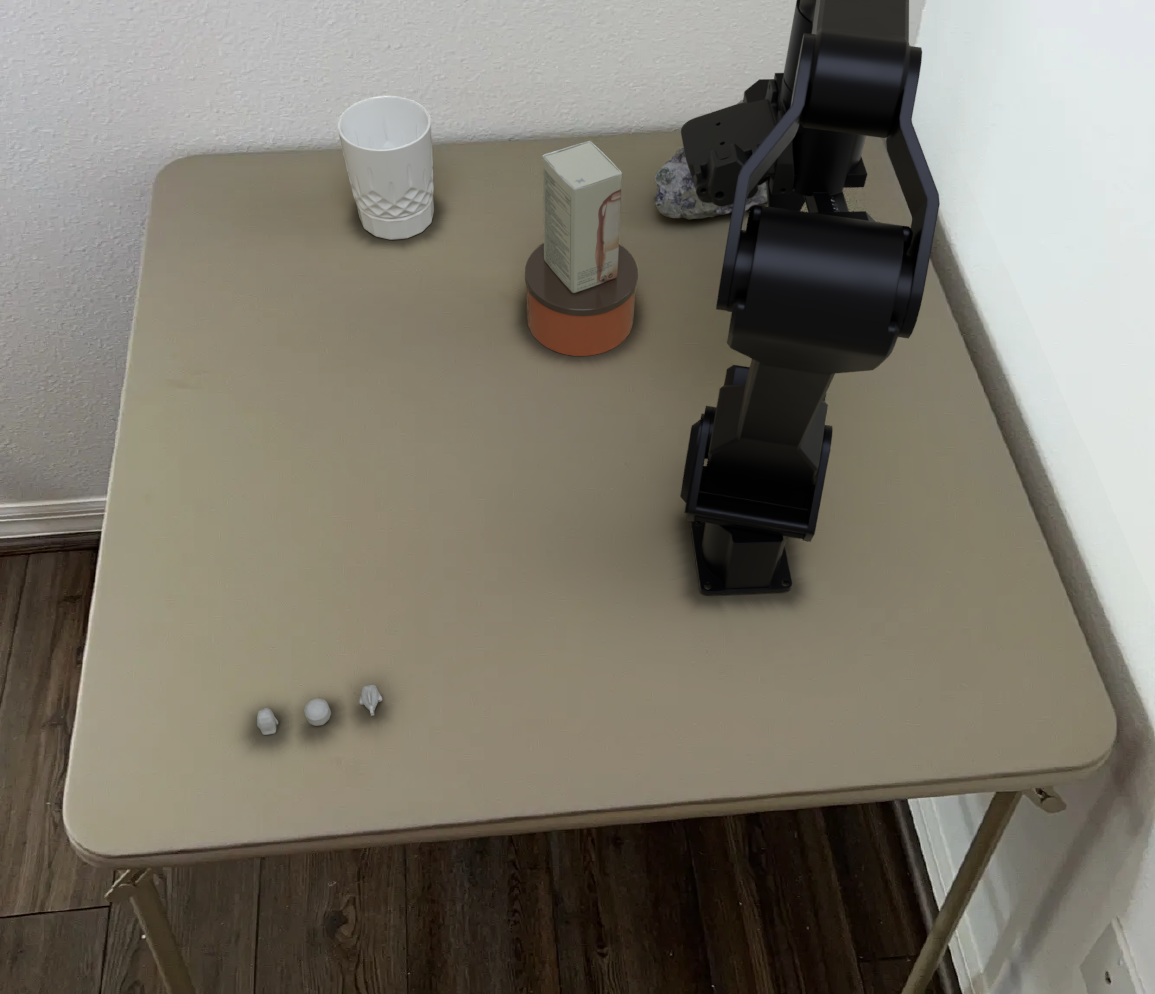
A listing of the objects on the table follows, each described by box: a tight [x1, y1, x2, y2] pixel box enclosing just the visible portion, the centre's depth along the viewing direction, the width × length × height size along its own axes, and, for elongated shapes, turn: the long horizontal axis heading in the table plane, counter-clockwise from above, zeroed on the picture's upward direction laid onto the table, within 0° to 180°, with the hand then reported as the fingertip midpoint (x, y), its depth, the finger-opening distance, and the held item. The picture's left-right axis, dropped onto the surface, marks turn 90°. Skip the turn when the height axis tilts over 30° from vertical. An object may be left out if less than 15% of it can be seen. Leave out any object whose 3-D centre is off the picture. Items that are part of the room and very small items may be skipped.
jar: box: [524, 242, 639, 357], centre depth 94 cm, size 9×9×5 cm
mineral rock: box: [654, 99, 768, 220], centre depth 102 cm, size 13×11×10 cm
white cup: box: [336, 94, 435, 241], centre depth 100 cm, size 8×8×10 cm
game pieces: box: [256, 683, 383, 736], centre depth 73 cm, size 8×2×2 cm, turn 102°
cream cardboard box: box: [542, 140, 623, 293], centre depth 88 cm, size 5×4×10 cm
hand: (788, 276), depth 80 cm, fingers open, 9 cm apart
